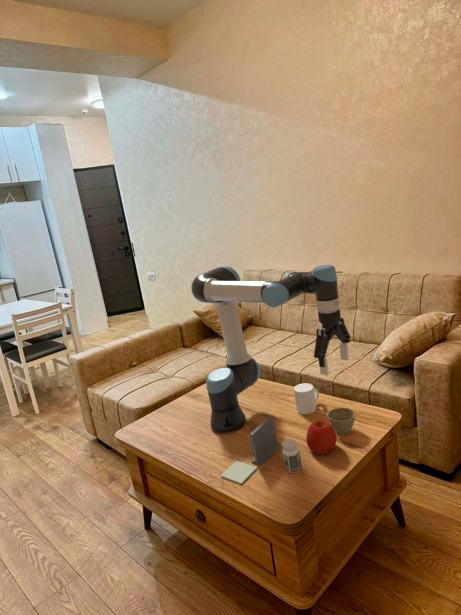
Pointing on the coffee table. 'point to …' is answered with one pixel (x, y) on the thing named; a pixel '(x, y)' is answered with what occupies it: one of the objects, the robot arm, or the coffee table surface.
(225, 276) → the robot arm
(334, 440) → the apple
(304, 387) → the mug
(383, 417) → the coffee table surface
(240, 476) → the mat
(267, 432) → the screen
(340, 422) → the flower pot
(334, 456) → the coffee table surface
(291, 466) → the pill bottle
